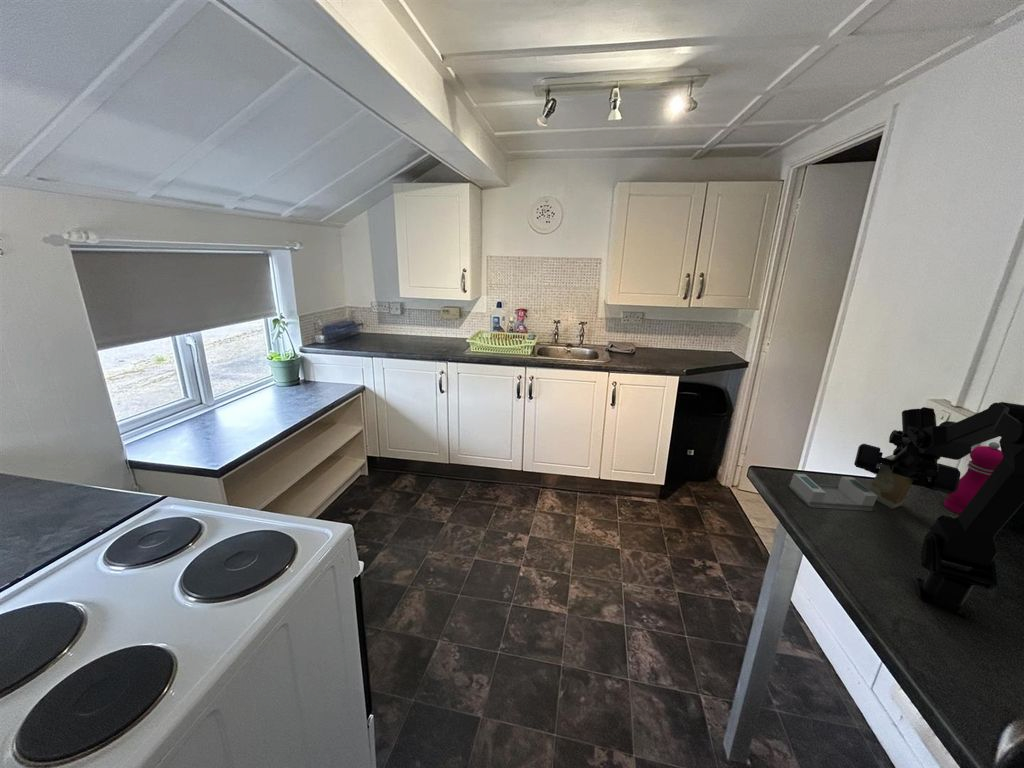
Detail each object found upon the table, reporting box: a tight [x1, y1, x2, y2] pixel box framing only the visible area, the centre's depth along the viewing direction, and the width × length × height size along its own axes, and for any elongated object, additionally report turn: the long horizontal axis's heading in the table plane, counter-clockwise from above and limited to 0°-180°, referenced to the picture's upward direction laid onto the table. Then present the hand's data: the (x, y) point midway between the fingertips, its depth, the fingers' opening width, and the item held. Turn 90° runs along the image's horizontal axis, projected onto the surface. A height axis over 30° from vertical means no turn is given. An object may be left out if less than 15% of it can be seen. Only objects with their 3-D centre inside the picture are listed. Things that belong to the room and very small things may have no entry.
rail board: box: [788, 481, 875, 512], centre depth 109 cm, size 16×9×1 cm, turn 88°
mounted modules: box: [790, 472, 878, 507], centre depth 108 cm, size 16×8×4 cm, turn 88°
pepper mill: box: [943, 441, 1003, 515], centre depth 104 cm, size 7×7×20 cm
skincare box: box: [868, 454, 914, 509], centre depth 108 cm, size 6×4×12 cm
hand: (893, 477), depth 108 cm, fingers closed on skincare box, 7 cm apart
